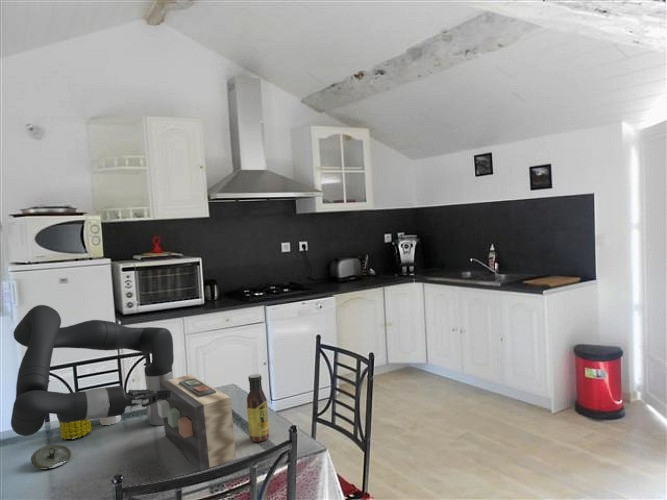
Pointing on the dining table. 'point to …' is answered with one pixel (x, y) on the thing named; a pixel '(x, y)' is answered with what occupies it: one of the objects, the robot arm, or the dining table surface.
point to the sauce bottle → (257, 410)
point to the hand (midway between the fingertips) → (169, 393)
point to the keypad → (201, 421)
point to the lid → (50, 456)
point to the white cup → (110, 420)
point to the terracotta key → (185, 427)
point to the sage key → (173, 417)
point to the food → (75, 429)
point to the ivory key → (163, 408)
